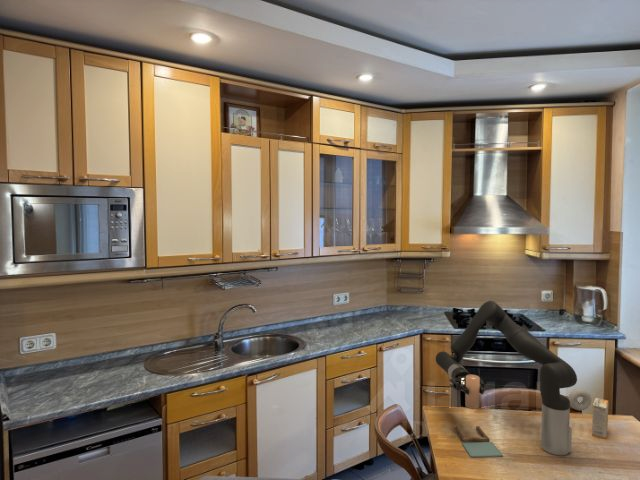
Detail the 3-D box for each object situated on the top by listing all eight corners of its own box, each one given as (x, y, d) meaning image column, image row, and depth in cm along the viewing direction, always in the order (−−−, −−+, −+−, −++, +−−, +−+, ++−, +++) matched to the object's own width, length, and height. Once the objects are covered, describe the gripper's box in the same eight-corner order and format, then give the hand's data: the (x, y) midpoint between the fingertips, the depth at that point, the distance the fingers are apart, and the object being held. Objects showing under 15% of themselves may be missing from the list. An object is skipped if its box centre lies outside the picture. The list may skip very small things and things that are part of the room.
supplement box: (593, 427, 176) (595, 397, 175) (607, 431, 173) (608, 400, 172) (591, 435, 169) (592, 404, 169) (605, 439, 166) (606, 407, 165)
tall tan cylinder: (475, 403, 171) (476, 374, 170) (481, 408, 166) (481, 379, 165) (463, 403, 171) (463, 374, 170) (468, 409, 166) (468, 379, 165)
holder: (478, 429, 175) (478, 426, 175) (489, 442, 165) (489, 438, 165) (454, 430, 174) (454, 426, 174) (463, 443, 165) (463, 439, 164)
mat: (492, 443, 164) (492, 441, 164) (503, 456, 155) (503, 455, 155) (461, 444, 164) (461, 442, 164) (471, 457, 155) (471, 456, 155)
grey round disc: (570, 412, 190) (571, 390, 189) (566, 408, 193) (566, 387, 192) (592, 412, 189) (593, 390, 189) (588, 408, 193) (588, 387, 192)
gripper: (443, 367, 182) (457, 383, 165) (475, 366, 182) (493, 382, 165) (443, 384, 182) (457, 401, 165) (475, 383, 183) (493, 400, 166)
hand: (475, 391), depth 165 cm, fingers closed on tall tan cylinder, 5 cm apart
